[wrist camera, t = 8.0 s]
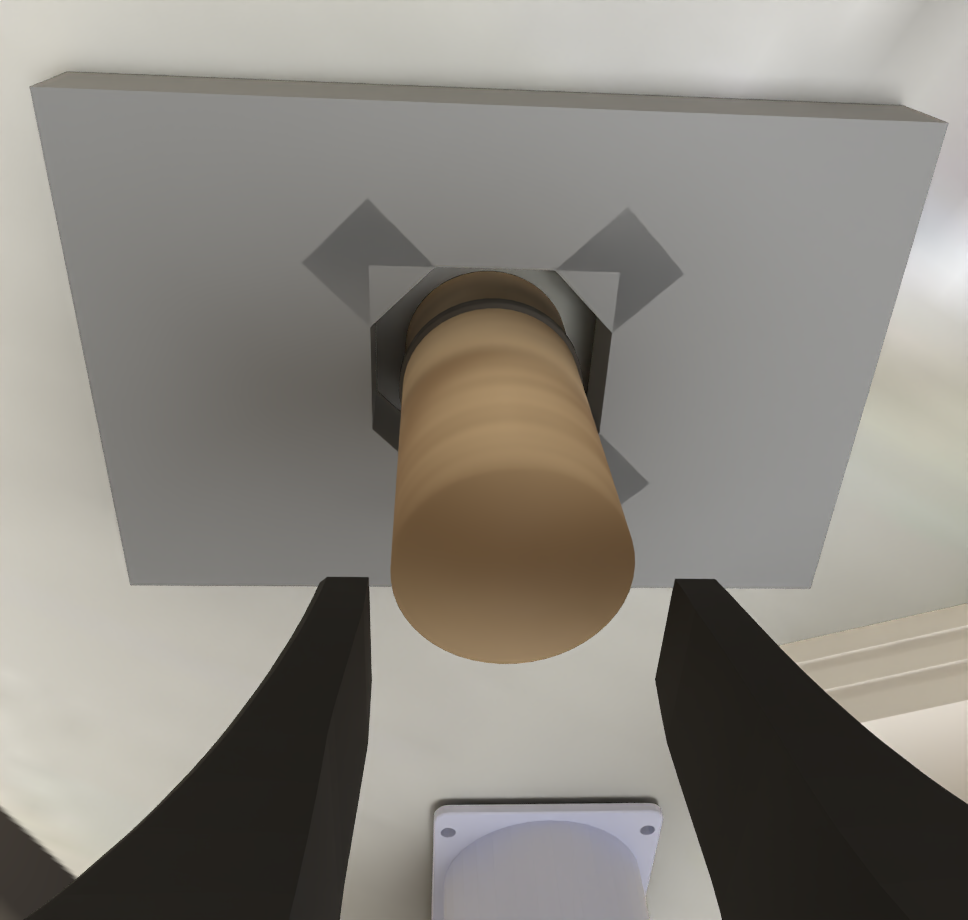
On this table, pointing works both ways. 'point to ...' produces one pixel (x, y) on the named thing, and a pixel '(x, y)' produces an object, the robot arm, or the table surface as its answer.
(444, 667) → the table surface
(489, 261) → the slate board
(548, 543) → the oak peg
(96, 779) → the table surface
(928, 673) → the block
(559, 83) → the table surface
